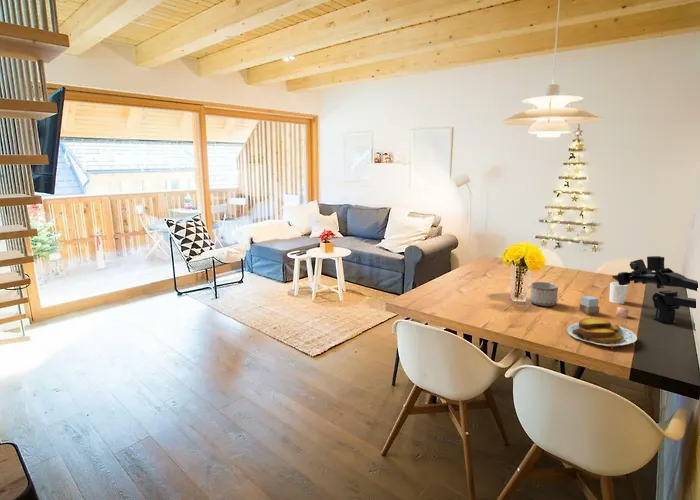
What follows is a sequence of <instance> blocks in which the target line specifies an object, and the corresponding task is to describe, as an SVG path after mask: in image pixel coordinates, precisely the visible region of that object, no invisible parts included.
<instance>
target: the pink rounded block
mask: <svg viewBox="0 0 700 500" xmlns="http://www.w3.org/2000/svg"><path fill="white" fill-rule="evenodd" d="M629 311H630V310H629V308H628V307H624V306H617V307H616V314H615V316H616V317H617V316H618V317H619V318H621V319H627V318H628V317H629Z"/></svg>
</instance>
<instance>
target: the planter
mask: <svg viewBox="0 0 700 500" xmlns="http://www.w3.org/2000/svg"><path fill="white" fill-rule="evenodd" d="M530 285H531V286H530V297H529V301H530V302H531V303H532V304H533V305H538V306H541V307H554V306H556V305H557V302H558V292H559V285H557V284H555V283H553V282H546V281H534V282H531V283H530Z"/></svg>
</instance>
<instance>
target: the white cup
mask: <svg viewBox="0 0 700 500" xmlns="http://www.w3.org/2000/svg"><path fill="white" fill-rule="evenodd" d="M628 287H629V285H624V286H623V285H619V282H618V281H611V282H610V283H609V299H608V301H609V302H610V303H611V304H612V303H613V304H618V305H621V304H622V305H623V304H625V301H626V298H627V294H628V293H627V292H628Z"/></svg>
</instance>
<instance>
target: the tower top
mask: <svg viewBox="0 0 700 500" xmlns="http://www.w3.org/2000/svg"><path fill="white" fill-rule="evenodd" d="M599 300H600V299H599V298H597V297H595V296H592V295H584V296H581V302H580V304H582V305H584V306H587V307H599Z"/></svg>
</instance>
